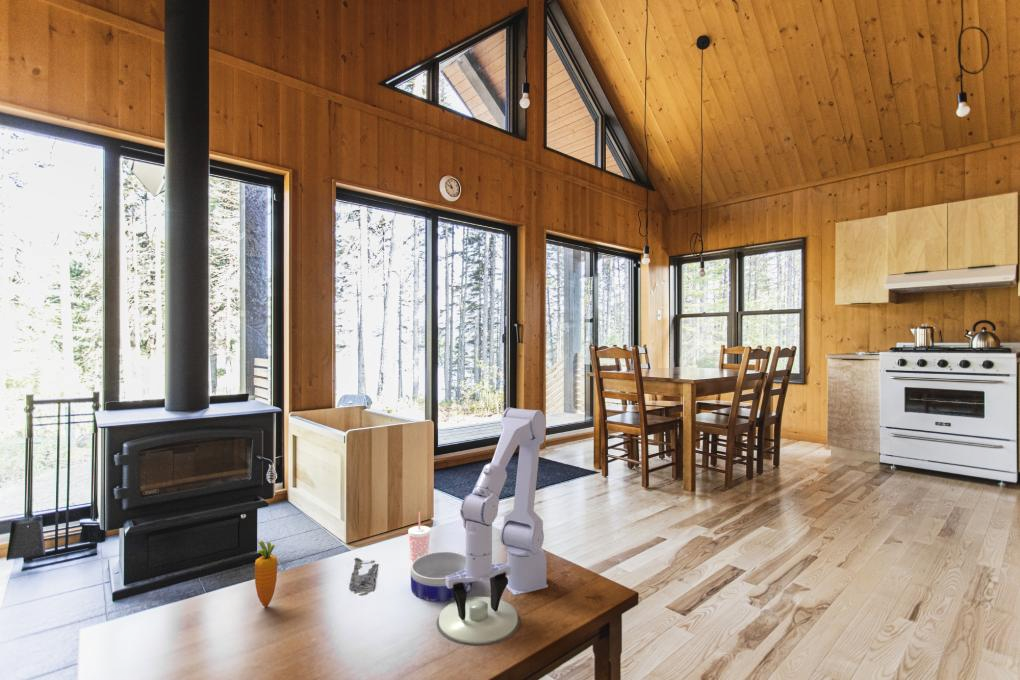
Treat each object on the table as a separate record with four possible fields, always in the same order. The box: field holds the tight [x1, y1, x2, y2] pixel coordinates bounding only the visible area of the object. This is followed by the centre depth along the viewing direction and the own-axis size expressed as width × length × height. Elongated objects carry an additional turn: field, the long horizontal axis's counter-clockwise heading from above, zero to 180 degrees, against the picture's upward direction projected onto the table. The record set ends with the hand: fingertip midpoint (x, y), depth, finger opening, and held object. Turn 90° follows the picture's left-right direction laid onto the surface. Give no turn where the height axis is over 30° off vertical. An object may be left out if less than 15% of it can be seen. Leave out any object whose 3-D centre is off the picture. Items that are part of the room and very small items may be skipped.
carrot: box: [254, 540, 278, 608], centre depth 115 cm, size 5×5×15 cm
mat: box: [436, 613, 521, 647], centre depth 109 cm, size 18×18×1 cm
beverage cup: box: [407, 511, 432, 565], centre depth 138 cm, size 6×6×14 cm
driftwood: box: [348, 557, 378, 597], centre depth 129 cm, size 21×7×2 cm, turn 11°
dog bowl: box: [410, 550, 473, 603], centre depth 124 cm, size 15×15×6 cm
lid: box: [438, 596, 518, 644], centre depth 109 cm, size 17×17×3 cm
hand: (478, 613), depth 109 cm, fingers open, 7 cm apart
